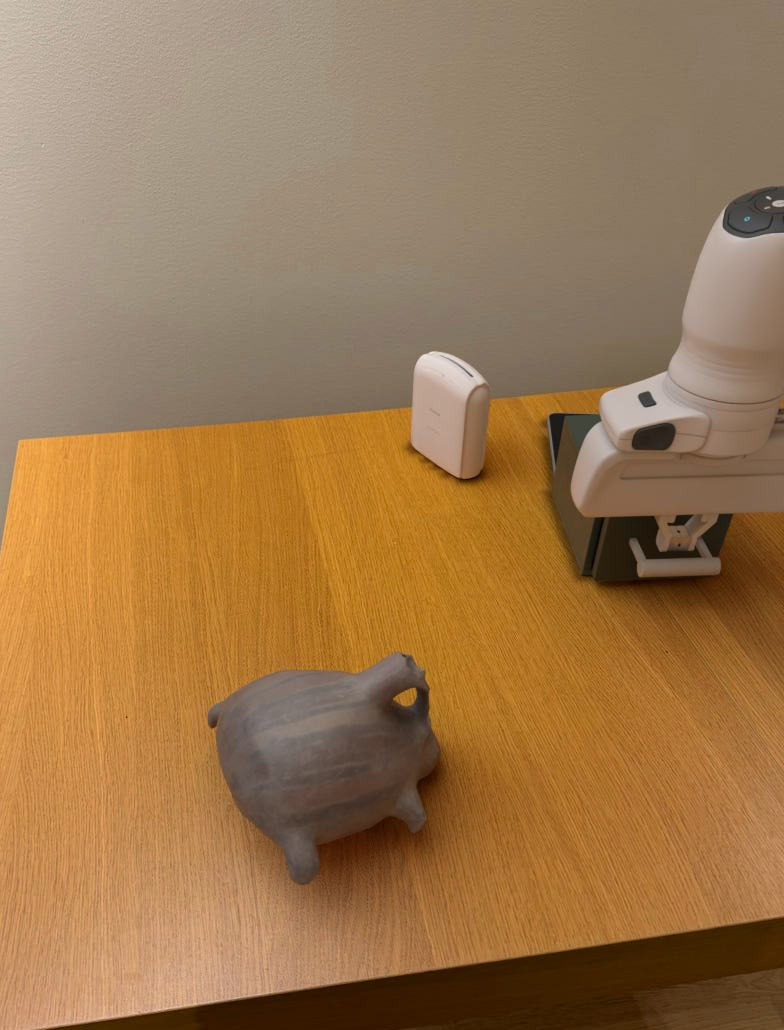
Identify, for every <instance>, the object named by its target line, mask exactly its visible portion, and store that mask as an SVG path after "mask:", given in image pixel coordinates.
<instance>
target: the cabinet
mask: <svg viewBox="0 0 784 1030" xmlns="http://www.w3.org/2000/svg"><path fill="white" fill-rule="evenodd" d="M601 421H602V420H601V417H600V415H576V416H565V418H564V424H563V429H562V435H561V440H560V446H559V451H558V457H557V462H556V468H555V474H554V473H553V480H552V485H551V490H550V495H551V497H552V500H553V502H554V505H555V508H556V511H557V513H558V516H559V518H560V521H561V524H562V526H563V529H564V532H565V535H566V537H567V540H568V542H569V543H568V544H569V546H570V548H571V552H572V553H573V556H574V559H575V561H576V564H577V567H578V570H579V573H580V575H581V576H592V574H591V573H592V569H593V565H594V560H595V559H594V552H595V548H596V544H597V540H598V535H599V531H600V527H601V522H602V518H603V517H584V516H583V515H582V514H581V513H580V511H579V510H578V509H577V507H576V506H575V503H574V501H573V498H572V495H571V481H572V476H573V472H574V468H575V465H576V461H577V458H578V455H579V452H580V449H581V447H582V444H583V442H584V439H585V437H586V435H587V434H588V432H589V431H590V430H591V429H592V428H593V427H594V426H595V425H596V424H597V423H599V422H601Z"/></svg>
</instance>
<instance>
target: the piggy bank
mask: <svg viewBox="0 0 784 1030" xmlns="http://www.w3.org/2000/svg"><path fill="white" fill-rule="evenodd" d="M426 674H427V671H426V669H425V668H423V667H420V666H418V664H417V663H416V661H415V659H414V657H413V655H412V654H406V653H402V652H401V651H395V652H393V653H392V654H390V655H388V656H386V657H384V658H382V659H381V660H379V661H378V662H376V663H374V664H373V665H371V666H369V667H367V668H366V669H364V670H361V671H359V672H356V673H352V672H347V671H340V670H327V669H286V670H279V671H274V672H271V673H269V674H266V675H264V676H261V677H259V678H256V679H254V680H253V681H250V682H249V683H247V684H245V685H243V686H242V687H240V688H239V689H237V690H236V691H234V692H232V693H231V694H230V695H228V696H227V697H226V698H225V699H224V700H223V701H219V702H217V703H215V704H213V705H212V706H211V707H210V709H209V710H208V713H207V724H208V726H209V728H210V729H212V730H214V729H215V744H216V750H217V756H218V764H219V767H220V770H221V772H222V775H223V778H224V781H225V783H226V786H227V788H228V791H229V792H230V794H231V797H232V799H233V801H234V803H235V805H236V808H237V809H238V811H239V812H240V814H241V815H242V816H243V817H244V818H245V819H247V820H248V821H249V822H250V823H251V824H252V825H253V826H254V827H255V828H257V830H258V831H259V832H261V833H262V834H263V835H264V836H266V837H267V839H269V840H271V841H272V842H273V843H274V844H276V846H277V847H278V848H279V849H280V850H281V852H282V854H283V856H284V860H285V862H286V868H287V870H288V872H289V876H290V880H291V881H292V882H293V883H295V884H297V885H300V886H307V885H310V884H311V883H312V882H313V881H314V880H315V878H317V877H318V876H319V874H320V866H321V865H320V864H321V861H320V857H319V853H318V847H317V845H323V844H328V843H331V842H334V841H337V840H341V839H344V838H345V837H348V836H351V835H355V834H357V833H361V832H363V831H365V830H368V829H371V828H372V827H374V826H375V825H377V824H378V823H380V822H382V821H383V820H384V819H385V818H390V817H393V818H397V819H399V820H400V821H403V822H405V824H406V825H407V828H408V831H409V832H410V833H412V834H416V833H418V832H420V831H421V830H422V829H424V828H425V827H426V823H427V820H428V814H427V812H426V810H425V808H424V806H423V802H422V799H421V795H420V794H419V790H418V788H417V787H418V786H417V785H418V784H419V781H420V780H422V779H424V778H426V777H428V776H429V775H430V774H431V773H432V772H433V771H434V769H435V768H436V767H437V764H438V763H439V761H440V758H441V755H442V750H441V745H440V742H439V741H438V737H437V736H436V734H435V732H434V730H433V728H432V720H431V717H430V709H431V707H430V690H431V688H430V686H429V683H428V682H427V680H426ZM410 689H415V691H416V696H415V700H414V701H413V702H412V704H410V705H407V706H406V705H403V704H401V703H399V702H398V701H397V700H395V698H396V697H397V696H399V695H400V694H403V693H404V692H405V691H408V690H410Z"/></svg>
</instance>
